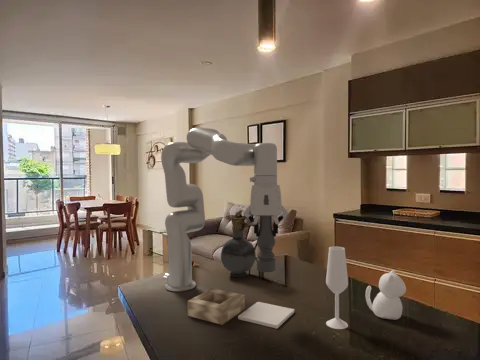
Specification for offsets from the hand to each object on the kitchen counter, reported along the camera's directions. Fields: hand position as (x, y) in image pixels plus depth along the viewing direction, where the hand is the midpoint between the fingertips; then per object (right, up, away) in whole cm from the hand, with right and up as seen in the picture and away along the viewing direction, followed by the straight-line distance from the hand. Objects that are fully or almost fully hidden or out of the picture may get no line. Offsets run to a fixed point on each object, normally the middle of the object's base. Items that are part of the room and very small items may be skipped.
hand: (265, 235), depth 115 cm
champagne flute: (+22, -27, -6) cm, 35 cm away
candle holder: (0, -12, 0) cm, 12 cm away
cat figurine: (+39, -27, 0) cm, 48 cm away
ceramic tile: (0, -27, +1) cm, 27 cm away
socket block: (-17, -27, +4) cm, 32 cm away
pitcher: (-8, -26, +44) cm, 52 cm away
